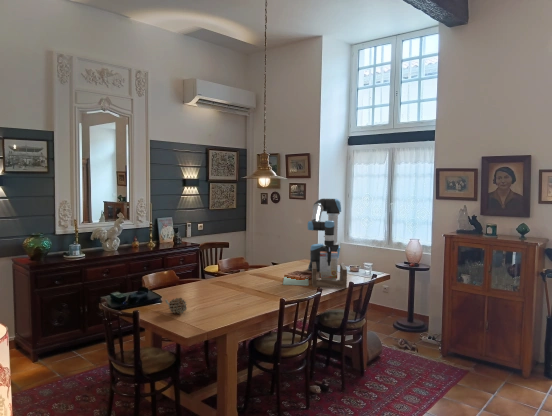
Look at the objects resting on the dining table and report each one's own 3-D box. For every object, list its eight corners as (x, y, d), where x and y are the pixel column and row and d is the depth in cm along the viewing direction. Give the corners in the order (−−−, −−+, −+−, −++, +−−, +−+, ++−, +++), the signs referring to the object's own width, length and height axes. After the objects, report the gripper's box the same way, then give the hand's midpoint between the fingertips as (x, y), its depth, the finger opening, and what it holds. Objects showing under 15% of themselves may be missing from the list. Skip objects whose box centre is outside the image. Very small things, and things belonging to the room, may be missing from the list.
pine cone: (191, 314, 263) (191, 298, 262) (178, 317, 256) (178, 301, 255) (170, 306, 278) (169, 291, 277) (157, 310, 270) (157, 294, 269)
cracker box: (337, 277, 349) (337, 251, 347) (337, 278, 343) (337, 252, 341) (319, 276, 350) (320, 251, 348) (319, 278, 344) (320, 252, 342)
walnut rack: (311, 278, 357) (312, 261, 356) (343, 279, 355) (343, 262, 354) (312, 286, 331) (312, 268, 330) (346, 287, 330) (347, 269, 328)
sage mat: (284, 277, 359) (284, 276, 359) (308, 278, 358) (308, 277, 358) (282, 284, 336) (282, 284, 335) (308, 285, 334) (308, 284, 334)
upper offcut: (321, 280, 343) (321, 277, 343) (336, 281, 342) (336, 277, 342) (320, 282, 337) (321, 279, 337) (336, 282, 336) (336, 279, 336)
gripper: (323, 238, 353) (323, 265, 355) (325, 241, 334) (324, 271, 337) (333, 238, 353) (332, 266, 355) (334, 242, 334) (334, 271, 336)
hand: (328, 268), depth 346 cm, fingers closed on cracker box, 6 cm apart
